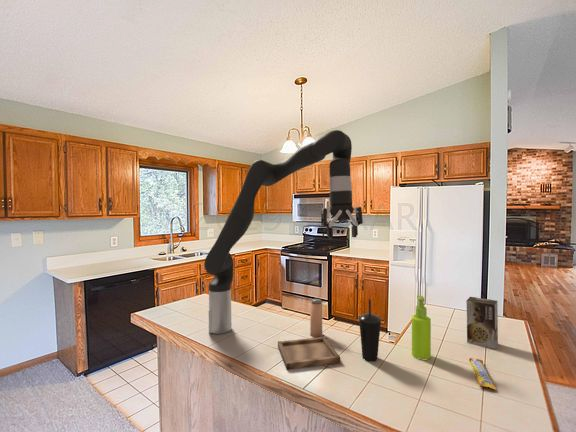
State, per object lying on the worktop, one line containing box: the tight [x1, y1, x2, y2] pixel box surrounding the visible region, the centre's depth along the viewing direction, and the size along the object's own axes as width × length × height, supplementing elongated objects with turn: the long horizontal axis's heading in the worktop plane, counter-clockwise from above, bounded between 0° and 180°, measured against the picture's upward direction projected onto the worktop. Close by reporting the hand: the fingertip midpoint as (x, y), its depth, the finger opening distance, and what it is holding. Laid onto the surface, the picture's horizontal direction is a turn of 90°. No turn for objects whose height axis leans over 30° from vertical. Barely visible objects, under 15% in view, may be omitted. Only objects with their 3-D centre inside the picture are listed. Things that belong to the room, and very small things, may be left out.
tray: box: [277, 336, 341, 371], centre depth 102 cm, size 18×16×2 cm
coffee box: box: [465, 296, 499, 350], centre depth 109 cm, size 9×6×16 cm
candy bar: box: [468, 357, 497, 391], centre depth 88 cm, size 17×4×2 cm, turn 157°
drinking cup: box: [357, 298, 382, 362], centre depth 99 cm, size 8×8×20 cm
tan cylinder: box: [309, 298, 323, 338], centre depth 118 cm, size 5×5×14 cm
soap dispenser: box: [411, 295, 432, 360], centre depth 100 cm, size 6×7×20 cm
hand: (342, 237), depth 100 cm, fingers open, 8 cm apart
